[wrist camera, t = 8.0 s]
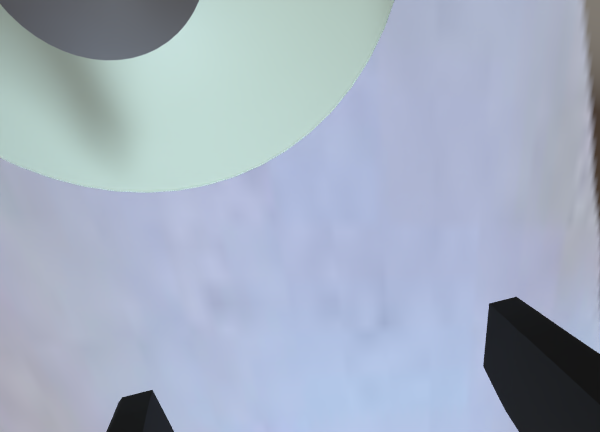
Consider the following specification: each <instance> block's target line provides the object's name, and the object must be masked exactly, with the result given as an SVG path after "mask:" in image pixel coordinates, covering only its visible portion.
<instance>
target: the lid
mask: <svg viewBox="0 0 600 432" xmlns="http://www.w3.org/2000/svg"><path fill="white" fill-rule="evenodd" d="M393 3H394V0H0V158H2V159H4V160H6V161H8V162H10V163H12V164H15V165H17V166H19V167H22V168H25V169H27V170H30V171H33V172H36V173H38V174H41V175H44V176H47V177H49V178H53V179H56V180H60V181H64V182H68V183H72V184H76V185H80V186H84V187H90V188H97V189H104V190H110V191H120V192H144V193H150V192H165V191H178V190H184V189H189V188H195V187H200V186H206V185H210V184H213V183H216V182H219V181H223V180H226V179H229V178H233V177H236V176H238V175H240V174H242V173H245V172H247V171H249V170H252V169H254V168H256V167H258V166H261V165H263V164H264V163H266V162H268V161H269V160H271V159H273V158H275V157H276V156H278V155H280V154H281V153H283V152H285V151H286V150H288V149H289V148H290V147H292V146H293V145H294V144H296V143H297V142H298V141H300V140H301V139H302V138H304V137H305V136H306V135H308V134H309V133H310V132H311V131H312V130H313V129H314V128H315V127H316V126H317V125H318V124H319V123H321V122H322V121H323V120H324V119H325V118H326V117H327V116H328V115H329V114H330V113H331V112H332V111H333V110H334V108H335V107H336V106H337V105H338V103H339V102H340V101H341V100H342V98H343V97H344V96H345V95H346V94H347V92H348V91H349V90H350V89H351V87H352V86H353V84H354V83H355V81H356V80H357V78H358V76H359V75H360V73H361V72H362V70H363V69H364V67H365V65H366V64H367V62H368V61H369V59H370V57H371V55H372V53H373V51H374V49H375V47H376V45H377V43H378V41H379V38H380V36H381V34H382V32H383V30H384V28H385V25H386V22H387V19H388V17H389V14H390V11H391V8H392V5H393Z"/></svg>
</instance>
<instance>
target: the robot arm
mask: <svg viewBox="0 0 600 432" xmlns="http://www.w3.org/2000/svg"><path fill="white" fill-rule="evenodd" d="M483 366H484V368H485V371H486V373H487V375H488V377H489V379H490V381H491V383H492V385H493V387H494V389H495V391H496V393H497V395H498V397H499V399H500V401H501V403H502V404H503V406H504V408H505V410H506V412H507V414H508V415H509V417H510V418H511V420H512V421H513V423H514V425H515V426H516V428H517V429H518V431H519V432H600V354H599V353H597V352H596V351H594V350H593V349H591V348H590V347H589V346H587V345H586V344H584V343H583V342H581V341H580V340H578V339H577V338H575V337H574V336H572V335H571V334H569V333H568V332H567V331H565V330H564V329H562V328H561V327H559V326H558V325H556V324H555V323H554V322H552V321H551V320H549V319H548V318H546V317H545V316H543V315H542V314H541V313H539V312H538V311H536V310H535V309H533V308H532V307H530V306H529V305H528V304H526V303H525V302H523V301H522V300H520V299H519V298H517V297H514V298H510V299H506V300H502V301H498V302H494V303H490V304H489V312H488V323H487V333H486V344H485V354H484V365H483ZM107 432H174V431H173V429H172V427H171V425H170V423H169V421H168V419H167V417H166V415H165V413H164V411H163V409H162V408H161V406H160V404H159V402H158V400H157V398H156V396H155V394H154V392H153V390H150V391H146V392H142V393H138V394H134V395H130V396H126V397H122V399H121V400H120V401H119V403H118V405H117V408H116V410H115V413H114V415H113V417H112V420H111V422H110V425H109V427H108V429H107Z"/></svg>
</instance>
